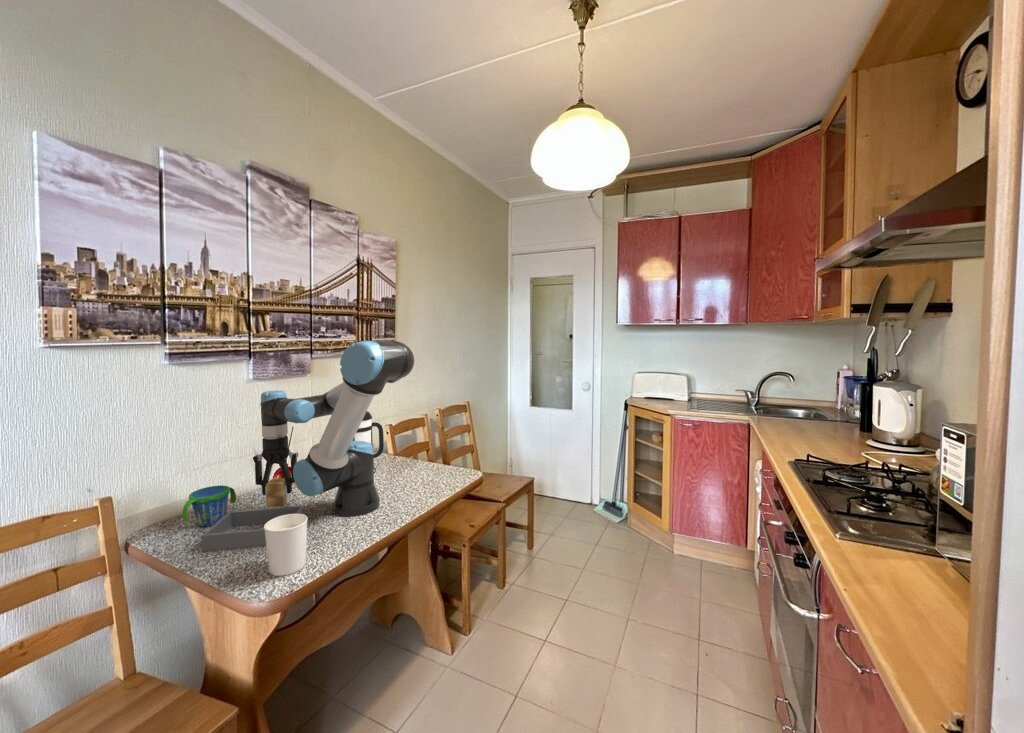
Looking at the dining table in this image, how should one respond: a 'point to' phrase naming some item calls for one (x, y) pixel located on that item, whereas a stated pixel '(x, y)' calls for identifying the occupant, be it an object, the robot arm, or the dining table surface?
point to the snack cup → (209, 504)
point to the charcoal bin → (240, 539)
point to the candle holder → (286, 543)
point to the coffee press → (369, 433)
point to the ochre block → (275, 492)
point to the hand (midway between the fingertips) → (277, 502)
